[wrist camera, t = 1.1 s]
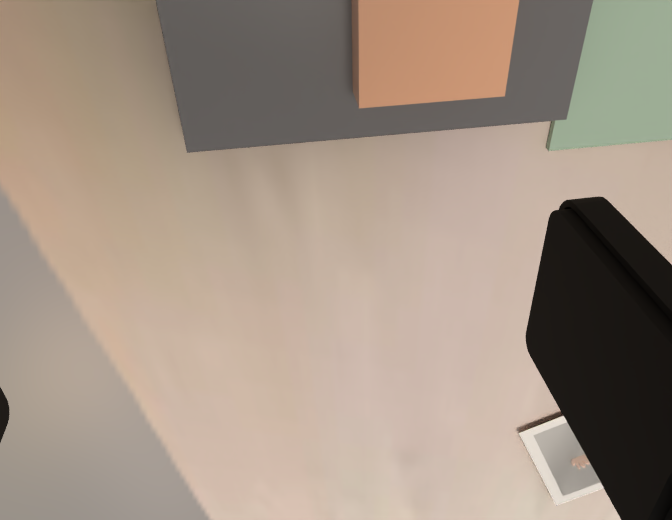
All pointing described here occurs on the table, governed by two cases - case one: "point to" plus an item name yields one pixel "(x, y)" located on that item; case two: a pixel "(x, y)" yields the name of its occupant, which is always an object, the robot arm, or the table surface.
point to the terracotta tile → (430, 50)
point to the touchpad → (560, 461)
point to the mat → (621, 78)
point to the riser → (340, 73)
